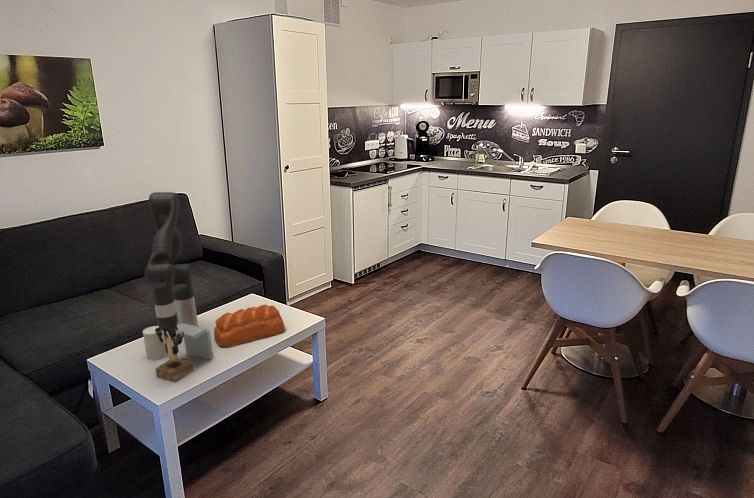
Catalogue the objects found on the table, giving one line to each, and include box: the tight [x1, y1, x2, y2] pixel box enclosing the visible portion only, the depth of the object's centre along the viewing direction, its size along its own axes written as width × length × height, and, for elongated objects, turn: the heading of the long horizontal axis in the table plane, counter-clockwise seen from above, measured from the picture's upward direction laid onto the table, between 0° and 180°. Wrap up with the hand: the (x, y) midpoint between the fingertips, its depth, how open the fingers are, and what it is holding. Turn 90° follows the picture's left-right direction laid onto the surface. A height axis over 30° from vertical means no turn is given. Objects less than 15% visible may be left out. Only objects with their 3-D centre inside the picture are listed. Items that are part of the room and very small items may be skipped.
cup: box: [142, 325, 168, 361], centre depth 217 cm, size 8×8×12 cm
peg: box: [166, 337, 178, 361], centre depth 200 cm, size 3×3×10 cm
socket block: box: [155, 357, 195, 383], centre depth 203 cm, size 10×10×4 cm
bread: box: [213, 304, 286, 348], centre depth 234 cm, size 16×31×13 cm, turn 121°
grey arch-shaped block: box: [177, 323, 214, 361], centre depth 212 cm, size 14×9×14 cm, turn 64°
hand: (172, 352), depth 201 cm, fingers closed on peg, 3 cm apart
